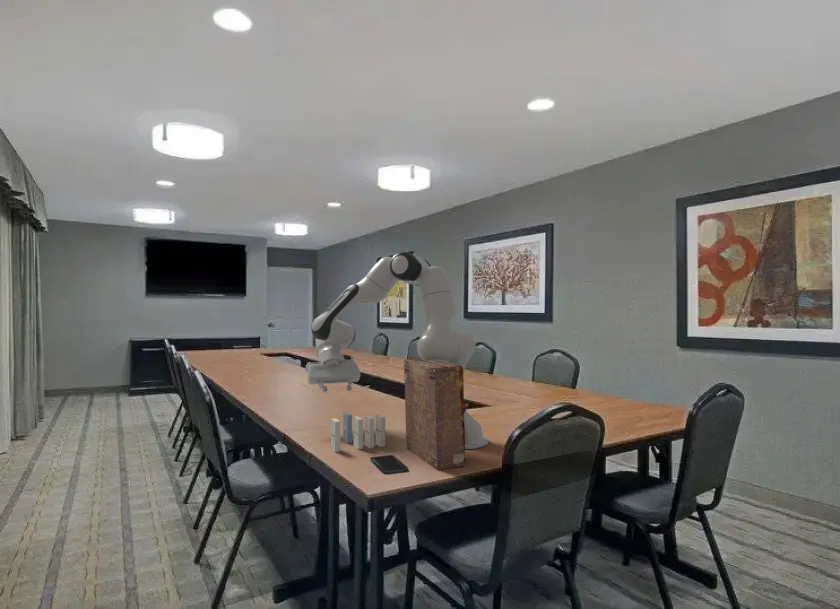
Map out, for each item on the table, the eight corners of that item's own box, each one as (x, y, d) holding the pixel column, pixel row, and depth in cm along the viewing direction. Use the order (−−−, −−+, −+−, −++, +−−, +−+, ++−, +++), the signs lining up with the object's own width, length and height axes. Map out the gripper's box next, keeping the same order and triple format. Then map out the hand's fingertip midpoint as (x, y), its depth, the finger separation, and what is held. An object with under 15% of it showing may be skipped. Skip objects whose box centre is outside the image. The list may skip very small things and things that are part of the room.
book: (406, 448, 172) (403, 359, 171) (431, 444, 175) (428, 357, 175) (437, 471, 148) (435, 368, 148) (465, 466, 152) (463, 366, 152)
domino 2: (347, 439, 182) (347, 412, 183) (351, 443, 178) (352, 414, 178) (343, 440, 182) (343, 412, 182) (347, 443, 177) (347, 415, 177)
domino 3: (358, 445, 175) (358, 416, 175) (362, 449, 171) (363, 419, 171) (353, 445, 175) (353, 416, 175) (358, 449, 170) (358, 419, 170)
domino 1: (335, 448, 172) (335, 418, 172) (339, 451, 167) (339, 421, 167) (330, 448, 171) (331, 418, 171) (334, 452, 167) (335, 421, 167)
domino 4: (369, 444, 177) (369, 415, 177) (374, 447, 172) (374, 418, 173) (364, 444, 176) (364, 415, 176) (369, 448, 172) (369, 418, 172)
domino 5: (379, 442, 179) (380, 414, 179) (385, 446, 174) (385, 417, 174) (375, 443, 178) (375, 414, 178) (380, 446, 173) (380, 417, 174)
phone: (383, 471, 145) (369, 457, 159) (383, 475, 145) (369, 460, 159) (409, 468, 148) (393, 454, 162) (409, 472, 148) (393, 458, 162)
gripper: (306, 358, 195) (311, 387, 186) (357, 356, 204) (364, 384, 195) (303, 368, 199) (308, 397, 190) (353, 366, 208) (360, 393, 199)
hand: (337, 390), depth 193 cm, fingers open, 8 cm apart
